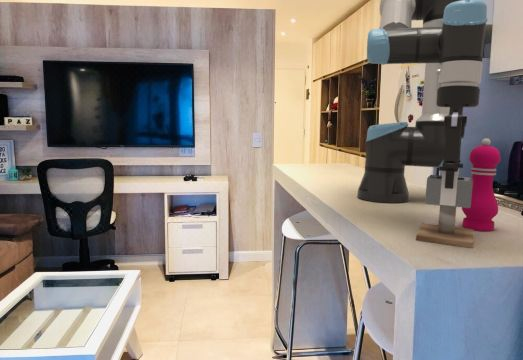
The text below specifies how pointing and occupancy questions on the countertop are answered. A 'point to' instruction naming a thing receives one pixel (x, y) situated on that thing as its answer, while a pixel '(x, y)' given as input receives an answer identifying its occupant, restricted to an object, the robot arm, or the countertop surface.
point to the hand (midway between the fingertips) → (448, 201)
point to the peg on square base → (446, 230)
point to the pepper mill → (482, 188)
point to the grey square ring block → (461, 195)
